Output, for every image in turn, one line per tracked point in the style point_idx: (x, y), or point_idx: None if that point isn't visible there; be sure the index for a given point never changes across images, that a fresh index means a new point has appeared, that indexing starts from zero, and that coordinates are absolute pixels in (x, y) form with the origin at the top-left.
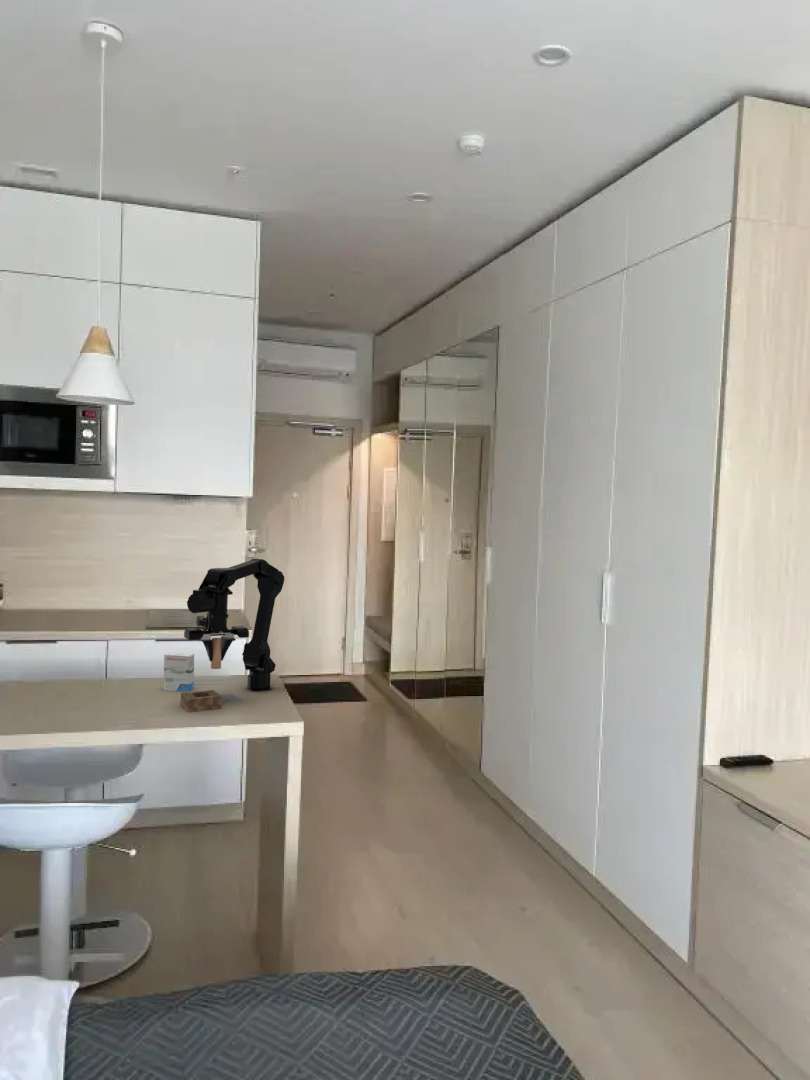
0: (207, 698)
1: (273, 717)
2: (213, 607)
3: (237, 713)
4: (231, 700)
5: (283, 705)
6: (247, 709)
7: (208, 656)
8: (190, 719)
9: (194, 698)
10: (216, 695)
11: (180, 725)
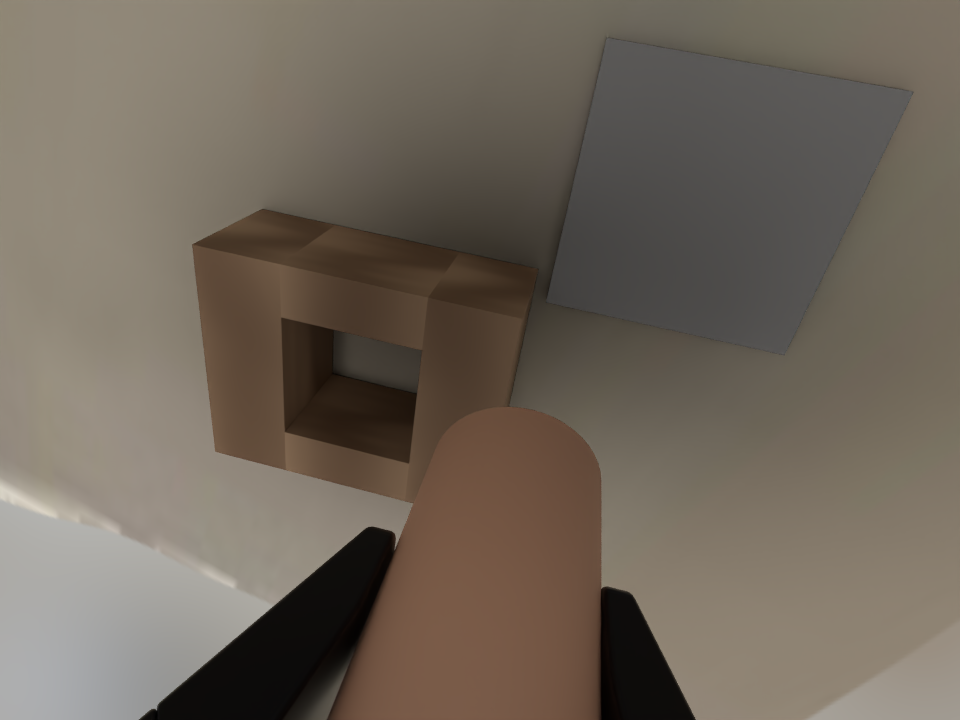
0: (363, 486)
1: None
2: None
3: None
4: (702, 323)
5: (932, 615)
6: (649, 541)
7: (301, 599)
8: (252, 494)
9: (264, 452)
10: None
11: (183, 537)
